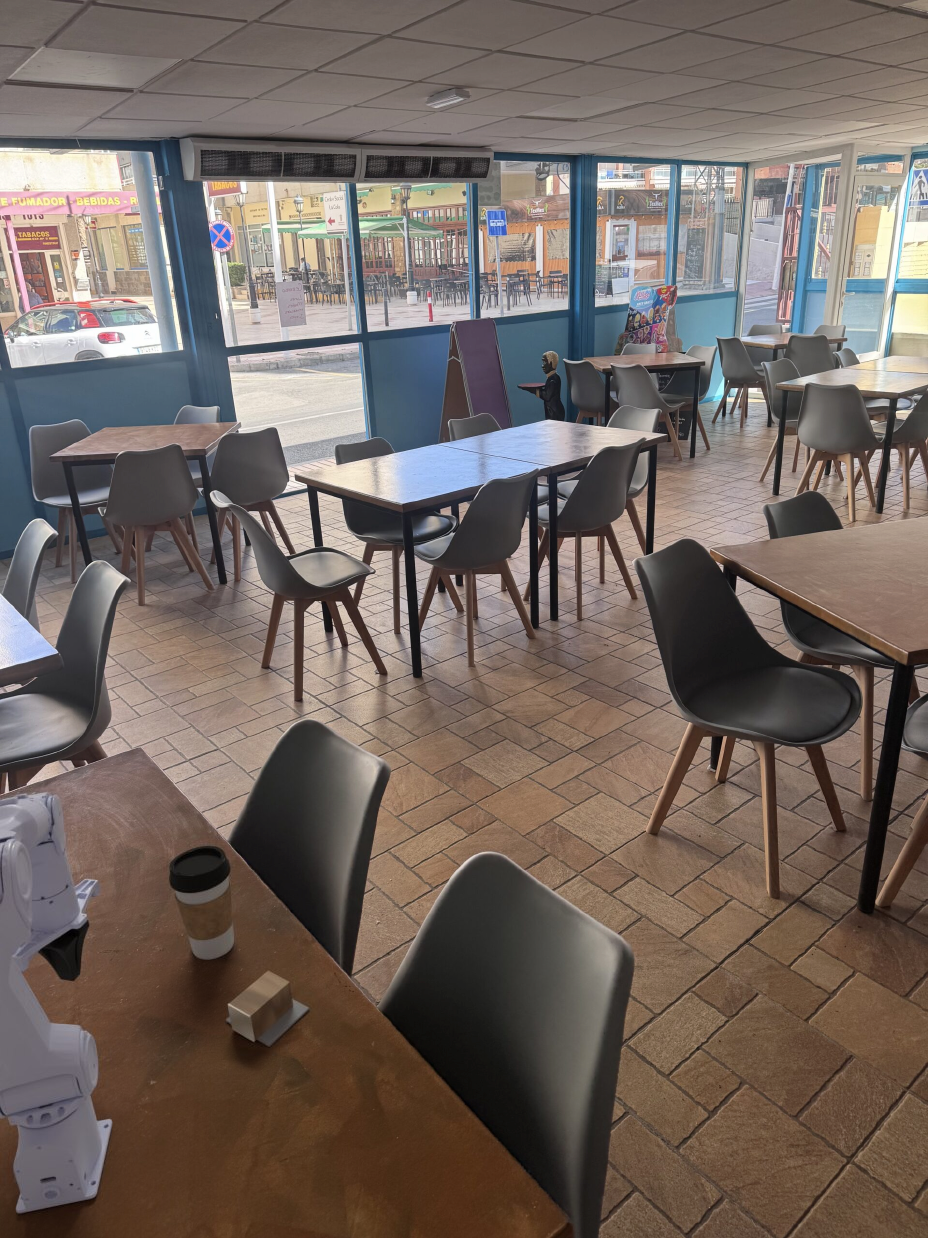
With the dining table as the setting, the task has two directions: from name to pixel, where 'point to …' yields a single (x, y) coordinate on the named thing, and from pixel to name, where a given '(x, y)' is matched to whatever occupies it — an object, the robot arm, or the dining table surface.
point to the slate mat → (281, 1023)
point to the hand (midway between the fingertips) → (70, 976)
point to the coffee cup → (204, 899)
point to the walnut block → (260, 1005)
